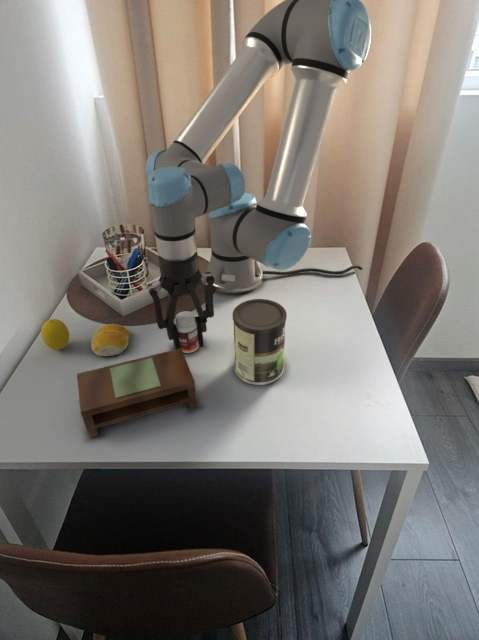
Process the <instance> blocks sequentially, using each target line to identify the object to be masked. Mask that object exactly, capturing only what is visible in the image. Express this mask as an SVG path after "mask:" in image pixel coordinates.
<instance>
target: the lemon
mask: <svg viewBox="0 0 479 640" xmlns="http://www.w3.org/2000/svg"><path fill="white" fill-rule="evenodd" d="M40 335H41V336H40V337H41V339H42V341H43V343H44V344H45V346H46V347H47V348H49V349H51V350H61V349H63V348H65V347H66V346H67V345H68V343H69V341H70V331H69V329H68V326H67V325H66V324H65V323H64V321H62V320H61V319H58V318H57V319H56V318H51V319H48V320H46V321H45V322H44V323H43V324H42V326H41V329H40Z"/></svg>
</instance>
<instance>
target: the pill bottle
mask: <svg viewBox="0 0 479 640" xmlns="http://www.w3.org/2000/svg"><path fill="white" fill-rule="evenodd" d="M195 317H196V316H195V314H194V313H193V312H191V311H189V310H185V311H183V310H182V311H180V312H178V313H177V314H175V325H176V328H177V333H178V340H179V348H181V349H182V351H183V354H190V353H194V352H196V351H197V350H199V347H200V345H199V338H198V328H197V323H196V321H195Z"/></svg>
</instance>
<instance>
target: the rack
mask: <svg viewBox="0 0 479 640" xmlns="http://www.w3.org/2000/svg"><path fill="white" fill-rule="evenodd" d="M76 381H77V389H78V399H79V408H80V414H81V417H82V420H83V424H84V425H85V429H86V431H87V434H88V437H89V439H93V438H96V437H99V431H98V430H99V429H100V428H102V427H104V428H105V427H107V426H111V425H114V424H118V423H121V422H125V421H128V420H132V419H136V418H139V417H143V416H146V415H150V414H155V413H158V412H161V411H165V410H168V409H171V408H176V407H178V406H182V405H186V404H187V405H188V407H189V410H190V411H191V410H194V409H198V398H197V390H196V381H195V379H194V376H193V374H192V371H191V368H190V366H189V363H188V361H187V359H186V355H185V353H184V352H183V351H182V349H181V348H180V349H176V350H175V349H172V350H168V351H164V352H160V353H156V354H151V355H147V356H144V357H143V356H142V357H139V358H136V359H131V360H126V361H123V362H119V363H115V364H110V365H107V366H102V367H99V368H94V369H91V370H90V369H89V370H87V371H82V372H77V373H76Z"/></svg>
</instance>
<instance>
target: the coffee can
mask: <svg viewBox="0 0 479 640" xmlns="http://www.w3.org/2000/svg"><path fill="white" fill-rule="evenodd" d="M232 321H233V345H234V372H235V374H236V376H237V377H238V378H239V379H240V380H241V381H243V382H245V383H247V384H249V385H254V386H265V385H269V384H272V383H275V382H276V381H277V380H279V379H280V378H281V377H282V375H283V373H284V369H285V367H284V361H285V360H284V359H285V341H286V324H287V323H286V321H287V310H286V309H285V307H284V306H283V305H282V304H280V303H278V302H276V301H274V300H271V299H265V298H253V299H248V300H245V301H243V302H240V303H239V304H238V305H237V306H236V307H235V308H234V309H233V311H232Z"/></svg>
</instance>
